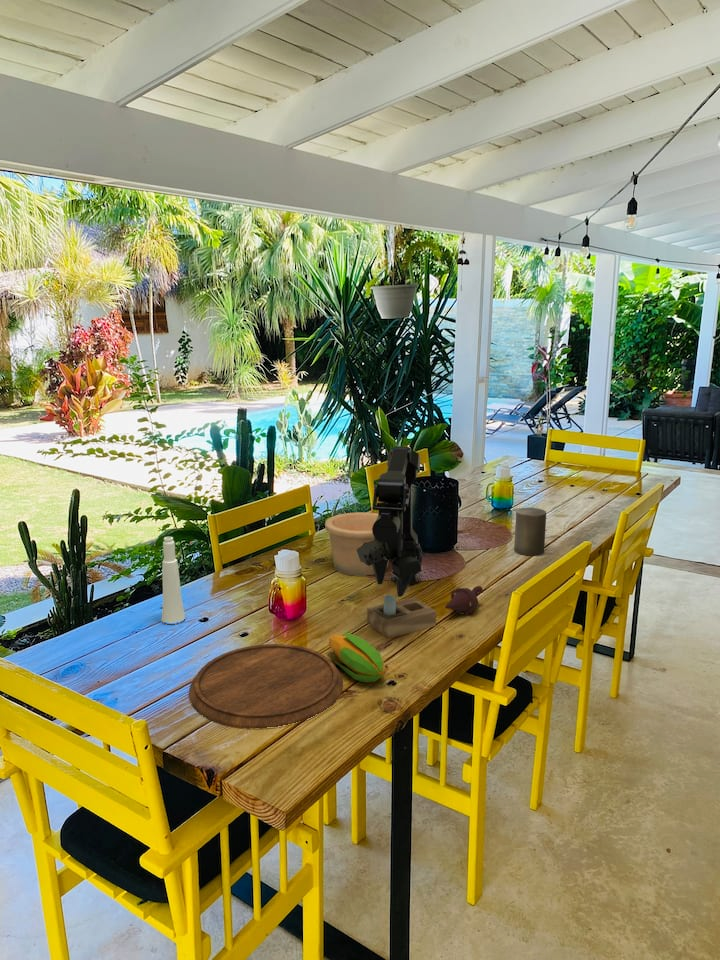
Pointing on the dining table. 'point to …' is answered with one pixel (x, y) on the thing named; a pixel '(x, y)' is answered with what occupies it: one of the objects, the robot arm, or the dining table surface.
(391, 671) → the dining table surface
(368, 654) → the corn
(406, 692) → the dining table surface
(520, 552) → the pillar candle
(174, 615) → the cosmetic bottle
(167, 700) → the dining table surface
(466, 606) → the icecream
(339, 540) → the pottery
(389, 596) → the dowel
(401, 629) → the socket block
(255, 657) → the cutting board
